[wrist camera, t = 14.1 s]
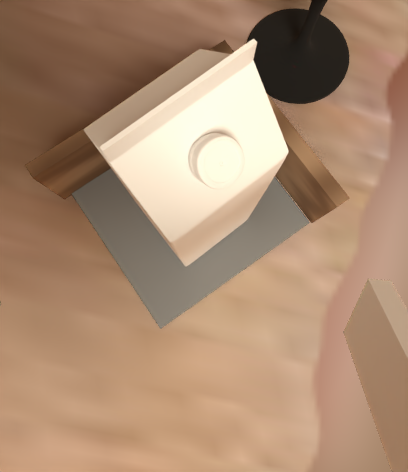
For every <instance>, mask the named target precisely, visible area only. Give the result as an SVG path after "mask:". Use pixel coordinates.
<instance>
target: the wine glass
mask: <svg viewBox="0 0 408 472" xmlns="http://www.w3.org/2000/svg"><path fill="white" fill-rule="evenodd" d="M326 2H327V0H312V1H311V5H310V8H309V10H305V9H286V10H281V11H278V12H275V13H273V14H271V15H269V16H267V17H266V18H264V19H263V20H261V21H260V22H259V23H258V24H257V25H256V26H255V28H254V29H253V31H252V32H251V34H250V36H249V38H248V42H249V41H251V40H252V39H255V40H256V41H257V45H256V50H255V54H254V59H253V60H254V63H255V66H256V68H257V71H258V73H259V76H260V78H261V81H262V84H263V86H264V89H265V91H266V93H267V94H268V95H270V96H271V97H273V98H275V99H278V100H280V101H284V102H288V103H295V104H306V103H311V102H315V101H318V100H320V99H322V98H324V97H326V96H328V95H329V94H331V93H332V92H333V91H334V90H335V89H336V88H337V87H338V86H339V85H340V83H341V82H342V80H343V79H344V77H345V75H346V72H347V69H348V65H349V50H348V46H347V43H346V40H345V38H344V36H343V34H342V33H341V32H340V30H339V29H338V28H337V26H336V25H335V24H334V23H333V22H331V21H330V20H329V19H327V18H326V17H324V16H322V15H320V13H321V11H322V9H323V7H324V5H325V3H326ZM248 42H247V43H248Z"/></svg>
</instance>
